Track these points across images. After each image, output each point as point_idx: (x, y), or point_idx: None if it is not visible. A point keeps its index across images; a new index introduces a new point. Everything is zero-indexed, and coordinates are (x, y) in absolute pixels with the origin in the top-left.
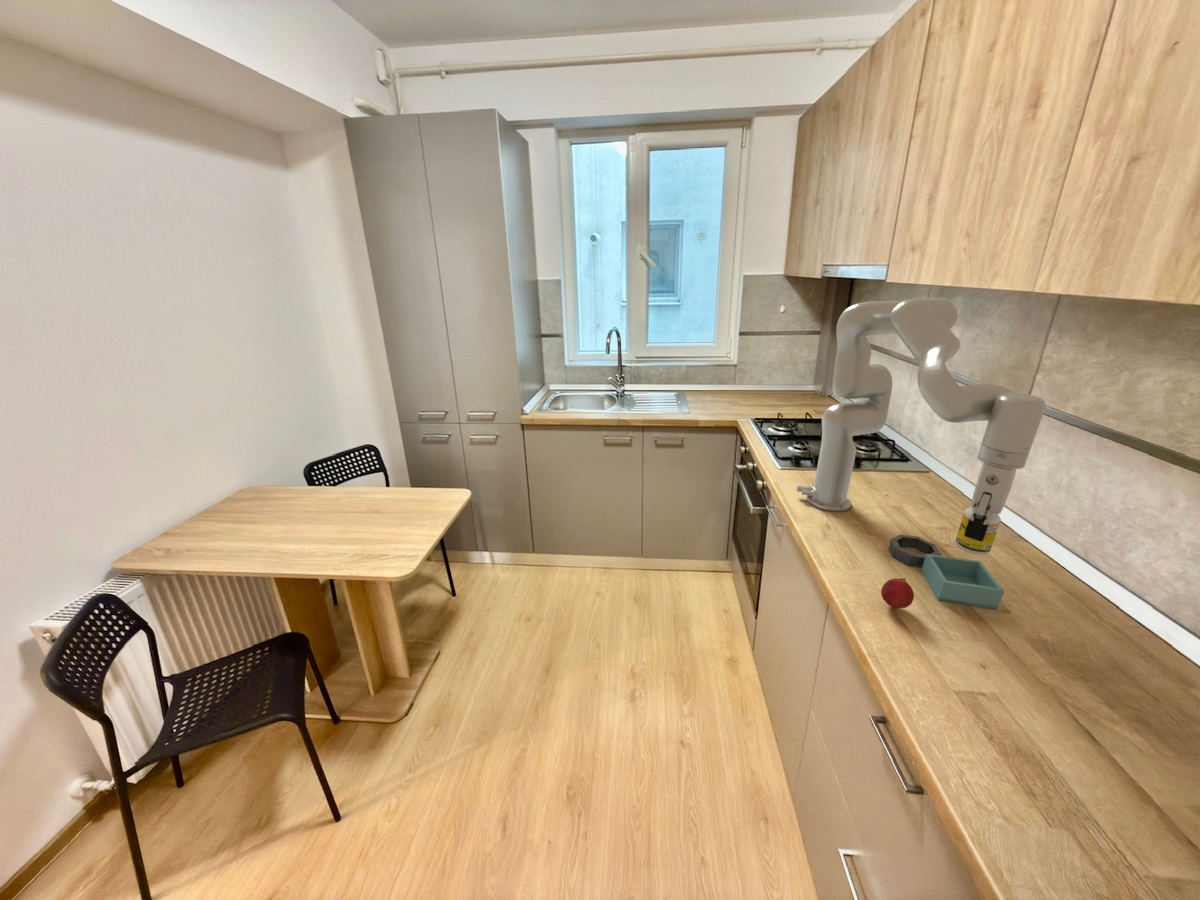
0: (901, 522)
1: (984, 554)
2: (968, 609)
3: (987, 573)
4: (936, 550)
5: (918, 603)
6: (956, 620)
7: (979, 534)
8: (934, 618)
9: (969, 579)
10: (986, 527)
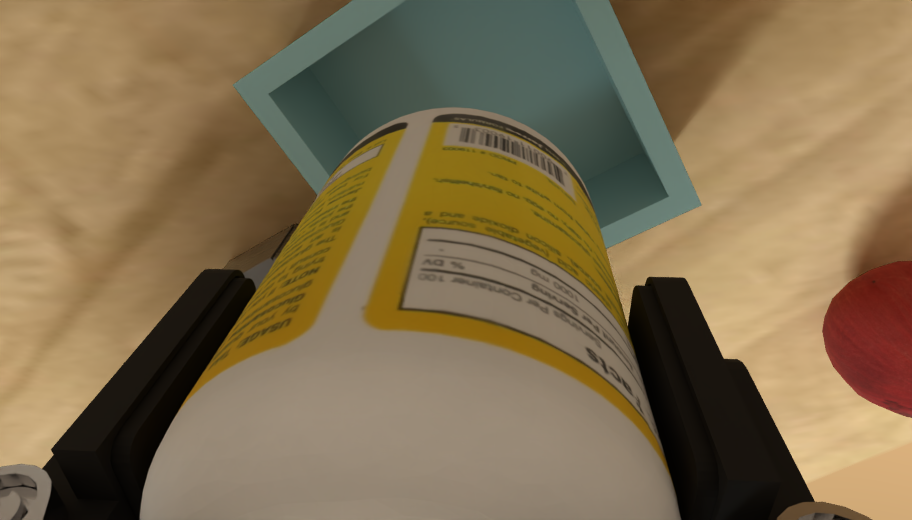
0: (63, 411)
1: (538, 134)
2: (646, 11)
3: (370, 15)
4: (258, 280)
5: (753, 214)
6: (807, 39)
7: (751, 384)
8: (853, 129)
9: (344, 74)
10: (750, 442)
